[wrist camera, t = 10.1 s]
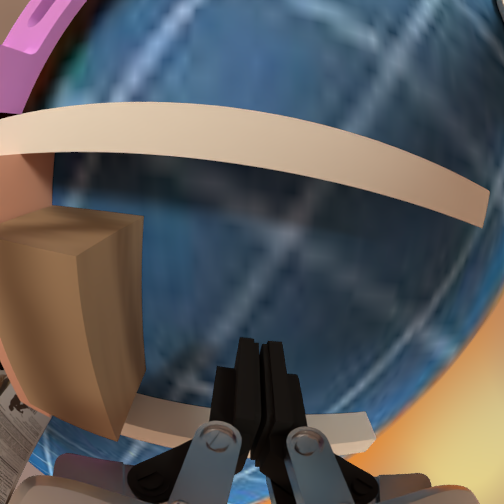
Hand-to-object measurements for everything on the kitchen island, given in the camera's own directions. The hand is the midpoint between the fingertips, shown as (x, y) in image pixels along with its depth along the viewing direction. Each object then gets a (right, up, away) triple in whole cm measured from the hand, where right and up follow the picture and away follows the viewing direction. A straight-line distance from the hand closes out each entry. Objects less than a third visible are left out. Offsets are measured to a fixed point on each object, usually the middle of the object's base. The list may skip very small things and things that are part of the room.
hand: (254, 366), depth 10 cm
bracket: (-14, +20, -2) cm, 24 cm away
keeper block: (-9, +2, +3) cm, 10 cm away
